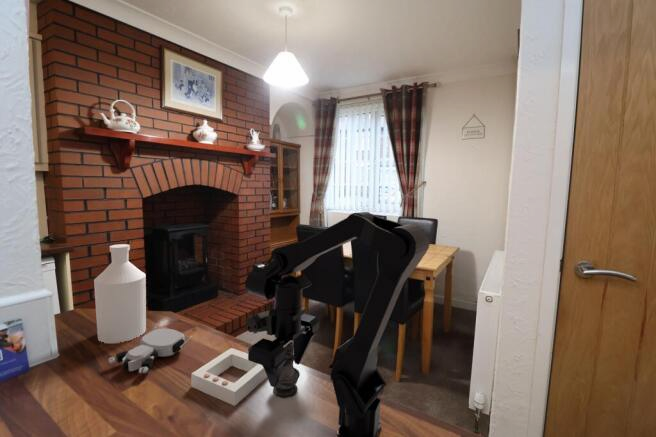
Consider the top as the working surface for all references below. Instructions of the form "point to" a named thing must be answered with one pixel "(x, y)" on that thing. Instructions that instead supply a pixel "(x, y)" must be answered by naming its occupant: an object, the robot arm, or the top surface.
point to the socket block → (225, 389)
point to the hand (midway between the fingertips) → (285, 374)
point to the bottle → (120, 299)
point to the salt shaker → (287, 375)
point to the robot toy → (151, 349)
